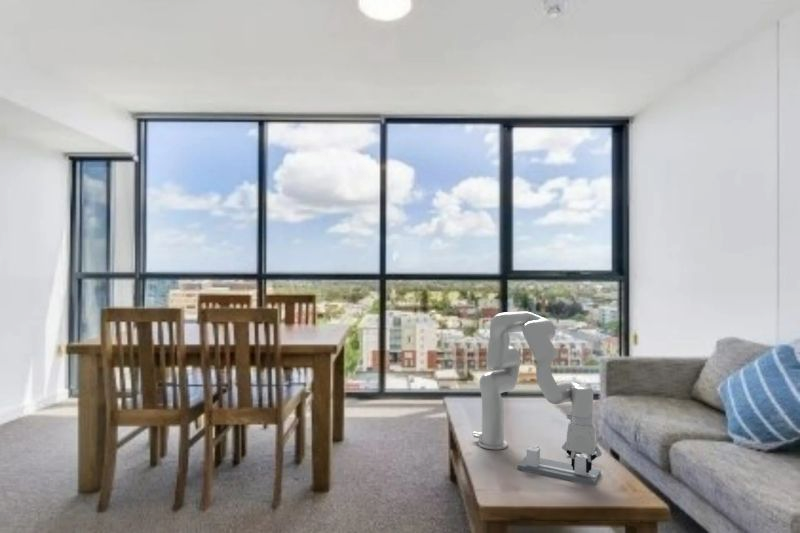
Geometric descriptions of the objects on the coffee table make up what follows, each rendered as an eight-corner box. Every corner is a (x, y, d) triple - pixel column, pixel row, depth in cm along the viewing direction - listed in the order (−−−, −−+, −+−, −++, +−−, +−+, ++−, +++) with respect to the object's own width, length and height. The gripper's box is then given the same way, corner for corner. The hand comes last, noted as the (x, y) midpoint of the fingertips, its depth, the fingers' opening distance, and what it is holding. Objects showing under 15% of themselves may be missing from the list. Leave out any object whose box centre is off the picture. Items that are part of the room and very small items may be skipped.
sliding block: (574, 474, 188) (574, 457, 188) (578, 467, 194) (578, 450, 194) (585, 476, 186) (586, 459, 186) (589, 469, 192) (590, 452, 192)
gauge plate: (517, 468, 197) (517, 449, 197) (526, 458, 208) (527, 440, 208) (594, 485, 183) (594, 464, 183) (600, 473, 193) (600, 453, 193)
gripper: (556, 419, 190) (555, 468, 190) (604, 426, 181) (603, 478, 181) (561, 414, 196) (560, 462, 196) (608, 421, 188) (607, 471, 188)
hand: (581, 469), depth 189 cm, fingers closed on sliding block, 4 cm apart
